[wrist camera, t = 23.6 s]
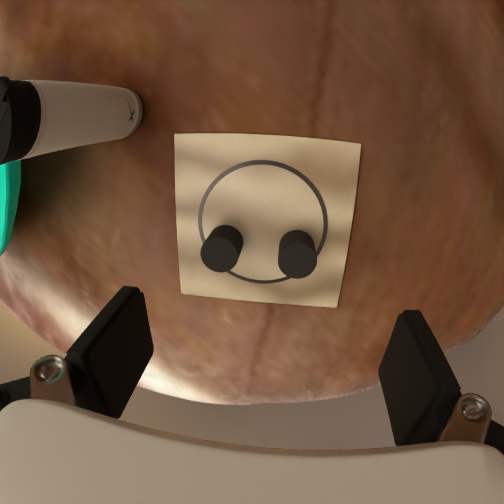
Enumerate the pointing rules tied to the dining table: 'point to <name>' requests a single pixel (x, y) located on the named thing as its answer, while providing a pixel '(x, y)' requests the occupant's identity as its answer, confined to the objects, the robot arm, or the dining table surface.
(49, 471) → the robot arm
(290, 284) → the drawing board
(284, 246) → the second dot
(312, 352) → the dining table surface
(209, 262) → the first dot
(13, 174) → the table top decor
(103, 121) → the travel mug
